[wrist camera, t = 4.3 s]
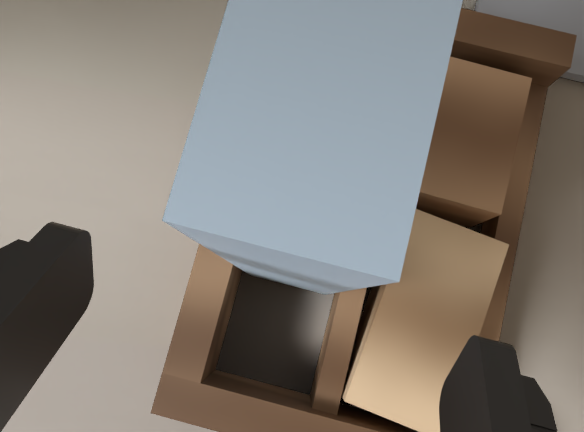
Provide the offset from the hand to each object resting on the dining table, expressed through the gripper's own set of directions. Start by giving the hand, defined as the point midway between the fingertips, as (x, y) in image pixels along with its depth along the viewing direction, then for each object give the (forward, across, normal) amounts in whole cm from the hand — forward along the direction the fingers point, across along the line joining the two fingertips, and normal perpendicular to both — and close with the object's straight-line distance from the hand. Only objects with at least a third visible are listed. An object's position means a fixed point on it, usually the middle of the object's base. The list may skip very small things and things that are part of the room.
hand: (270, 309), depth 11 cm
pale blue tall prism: (+13, 0, +6) cm, 14 cm away
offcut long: (+10, -6, +9) cm, 15 cm away
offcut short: (+16, -6, +4) cm, 17 cm away
